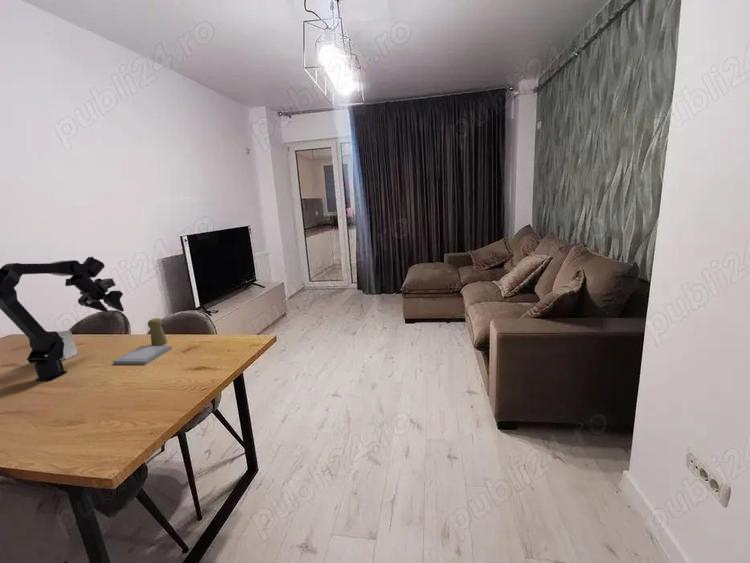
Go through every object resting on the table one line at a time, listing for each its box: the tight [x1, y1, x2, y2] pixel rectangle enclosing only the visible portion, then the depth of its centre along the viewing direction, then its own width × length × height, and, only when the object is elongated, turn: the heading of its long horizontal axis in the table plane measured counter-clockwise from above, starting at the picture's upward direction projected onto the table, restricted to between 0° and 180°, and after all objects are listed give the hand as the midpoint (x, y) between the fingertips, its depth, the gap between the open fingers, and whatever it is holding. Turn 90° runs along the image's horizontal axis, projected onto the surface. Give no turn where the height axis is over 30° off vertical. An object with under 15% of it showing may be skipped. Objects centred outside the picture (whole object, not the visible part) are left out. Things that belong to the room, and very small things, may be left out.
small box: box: [46, 330, 78, 361], centre depth 148 cm, size 8×6×10 cm
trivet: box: [112, 345, 173, 365], centre depth 143 cm, size 14×14×1 cm
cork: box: [147, 317, 168, 346], centre depth 154 cm, size 6×6×11 cm
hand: (114, 311), depth 156 cm, fingers open, 9 cm apart
